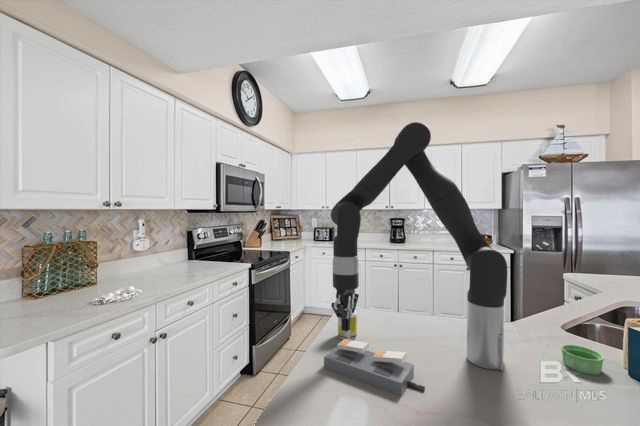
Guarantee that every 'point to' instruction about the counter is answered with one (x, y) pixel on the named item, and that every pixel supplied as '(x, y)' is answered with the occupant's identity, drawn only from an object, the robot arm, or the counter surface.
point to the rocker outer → (353, 346)
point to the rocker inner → (390, 356)
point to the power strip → (372, 370)
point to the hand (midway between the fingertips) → (346, 330)
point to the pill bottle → (353, 328)
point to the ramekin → (582, 359)
